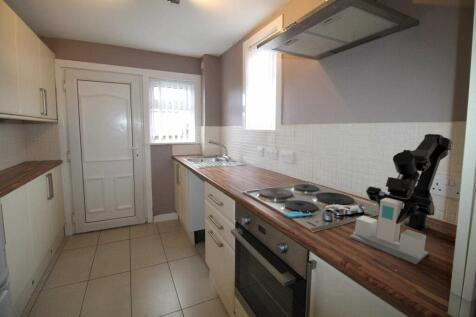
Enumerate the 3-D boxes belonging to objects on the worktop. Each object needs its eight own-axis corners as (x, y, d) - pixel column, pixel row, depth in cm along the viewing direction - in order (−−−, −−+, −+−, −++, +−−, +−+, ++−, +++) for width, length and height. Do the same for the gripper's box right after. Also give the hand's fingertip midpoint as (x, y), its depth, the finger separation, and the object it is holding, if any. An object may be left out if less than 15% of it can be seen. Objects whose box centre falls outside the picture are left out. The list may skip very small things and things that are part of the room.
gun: (355, 200, 118) (370, 207, 108) (354, 207, 118) (370, 215, 109) (322, 204, 113) (335, 212, 104) (321, 211, 114) (335, 219, 104)
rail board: (363, 230, 91) (365, 213, 90) (427, 254, 75) (430, 234, 74) (349, 237, 85) (351, 219, 84) (416, 264, 69) (419, 242, 68)
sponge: (281, 212, 106) (288, 215, 101) (304, 209, 110) (312, 212, 105) (281, 215, 106) (288, 219, 101) (304, 213, 110) (312, 216, 105)
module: (382, 233, 83) (386, 197, 81) (398, 239, 79) (403, 201, 77) (375, 237, 80) (380, 199, 79) (392, 243, 77) (397, 204, 75)
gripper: (371, 164, 86) (352, 198, 81) (436, 173, 72) (417, 216, 67) (378, 182, 92) (361, 216, 87) (440, 195, 77) (423, 236, 72)
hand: (387, 220), depth 78 cm, fingers closed on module, 5 cm apart
